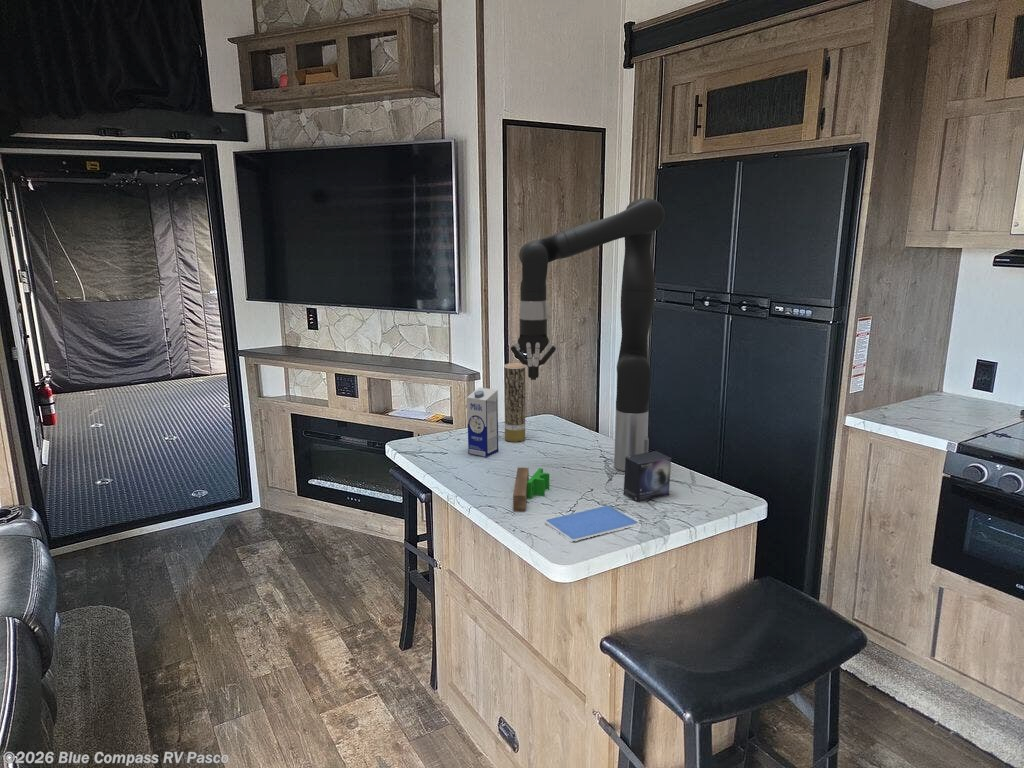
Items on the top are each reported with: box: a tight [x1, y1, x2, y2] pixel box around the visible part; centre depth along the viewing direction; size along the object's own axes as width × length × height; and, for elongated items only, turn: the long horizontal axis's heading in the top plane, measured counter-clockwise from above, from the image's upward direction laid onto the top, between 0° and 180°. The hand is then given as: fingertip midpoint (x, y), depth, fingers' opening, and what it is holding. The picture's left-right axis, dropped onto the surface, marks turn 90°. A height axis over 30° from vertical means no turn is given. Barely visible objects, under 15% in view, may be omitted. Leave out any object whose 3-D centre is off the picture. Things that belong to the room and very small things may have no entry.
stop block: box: [512, 467, 530, 512], centre depth 176 cm, size 3×20×4 cm, turn 176°
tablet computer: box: [544, 505, 640, 541], centre depth 159 cm, size 19×13×1 cm, turn 119°
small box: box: [623, 450, 672, 503], centre depth 175 cm, size 11×6×10 cm, turn 118°
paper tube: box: [503, 362, 526, 443], centre depth 220 cm, size 7×7×25 cm
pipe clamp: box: [527, 467, 550, 500], centre depth 178 cm, size 11×4×5 cm, turn 161°
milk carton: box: [466, 386, 499, 458], centre depth 208 cm, size 7×7×20 cm
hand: (533, 379), depth 188 cm, fingers closed
